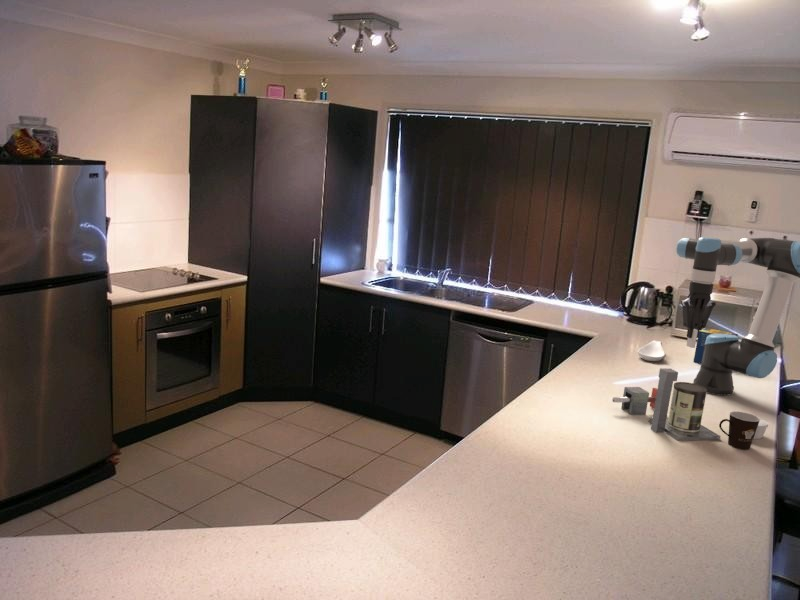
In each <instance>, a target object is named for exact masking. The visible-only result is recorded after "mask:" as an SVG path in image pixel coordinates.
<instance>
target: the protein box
mask: <svg viewBox="0 0 800 600" xmlns="http://www.w3.org/2000/svg"><path fill="white" fill-rule="evenodd" d="M710 334H728V335H735V336H738V337H739V334H738V333H735V332H728V331H725V330H724V331H723V330H719V329H714V328H709V327H705V328H702V330H699V335H698V338H697V339H696V344H695V350H694V351H695V352H694V356H693V361H692V363H695V364H699V363H700V364H699V365H701V364H702V358H703V352H704V346H705V345H704V344H705V342H706V338H707V336H708V335H710Z"/></svg>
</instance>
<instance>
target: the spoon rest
mask: <svg viewBox="0 0 800 600" xmlns="http://www.w3.org/2000/svg"><path fill="white" fill-rule="evenodd" d="M637 353H638V354H637V355H638V356H639V357H640V358H642V360H644V361H648V362H652V361H653V362H654V363H655V362H659V361H661V360H662V359H663V358H664V357H665V355H666V354H665V351H664V348H663V343H662V341H658V340H653V339H652V341H650V342H648V343H647V344H645V345H643V346H642V347H640V348H638V349H637Z"/></svg>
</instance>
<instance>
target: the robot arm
mask: <svg viewBox="0 0 800 600" xmlns="http://www.w3.org/2000/svg"><path fill="white" fill-rule="evenodd" d="M675 250H676V253H677V256H678V257H680V258H684V259H688V260H693V266H692V269H691V271H692V272H691V275H690V281H689V286H688V291H689V294H688V296H687V298H686V299H684V300H683V299H681V300H680V304H681V306H682V324H683V327H685V328H687V330H686V331H687V332H686V338H687V340H686V344H685V345H686V346H687V347H689V348H691V349H696V345H697V339H698V335H699V330H702V328H706V327H707V324H708V321H709V319H710V316H711V313H712V311H713V309H714V307H716V304H717V302H715V301H713V300H712V298H711V295H712V294H713V289H714V283H715V279H716V275H717V273H716V272H717V267H718V266H734V265H737V264H738V263H743V264H751V265H756V266H759V267H762V268H766V273H767V274H768V278H767V281H766V284H765V287H764V289H763V292H762V295H761V298H760V301H759V303H758V307H757V310H756V312H755V314H754V317H753V319H752V323H751V325H750V329H749V331H748V334H746V335H745V336H744V335H743V336H742V337H741V340H740V338H739V335H738V336H735V335H728V334H710V335H708V336H707V338H706V342H705V344H704V345H705V346H704V352H703V358H702V364H700V368H699V371H698V372H697V374H696V376H695V378H694V379H693V384H697V385H700V386H703V387H704V388H706V389H707V393H706V394H712V395H719V396H731V395H733V394H734V390H735V387H734V379H733V371H734V372H736V373H740V374H743V375H746V376H748V377H752V378H757V379H764V378H766V377H768V376H769V375H771V374H772V372H773V371H774V369H775V368H776V366H777V363H778V354H777V352H775V348H776V347H775V345H774V342H773V341H774V338H775V335H776V333H777V331H778V330H777V329H778V327H779V324H780V321H781V318H782V316H783V313H784V310H785V307H786V305H787V302H788V299H789V297H790V294H791V291H792V289H793V285H794V283H796V282H797V281H800V241H797V240H787V239H781V238H773V237H759V238H758V237H754V238H751V237H750V238H747V237H745V238H741V239H740V240H726V239H723V240H722V239H719V238H715V237H714V238H713V237H704V236H703V237H702V236H701V237H698V238H691V237H683V238H681V239H679V240H678V242H677V244H676V249H675ZM739 340H740V341H739Z"/></svg>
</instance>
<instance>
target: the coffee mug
mask: <svg viewBox="0 0 800 600" xmlns="http://www.w3.org/2000/svg"><path fill="white" fill-rule="evenodd" d="M759 418H760V417H758V416H757V415H754V414H753V413H748V412H745V411H744V412H743V411H736V410H735V411H730V412H729V419H728V418H724V419H722V420H721V421H720V422H719V424H718V427H719V428H720V429H719V430H721V432H722V433H724V434H725V435H726V436H727V437H728V438H727V441H728V442H727V444H728V445H729V446H730V447H732V448H735V449H738V450H743V451H748V450H750V449H751V447H752V444H753V440H754V439H753V438H754V435H755V433H756V430H757V427H758V424H759V421H760V419H761V418H760V419H759ZM724 422H728V423H729V424H728V433H727V432H726V431H725V430H724V429H723V427H722V424H723V423H724Z"/></svg>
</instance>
